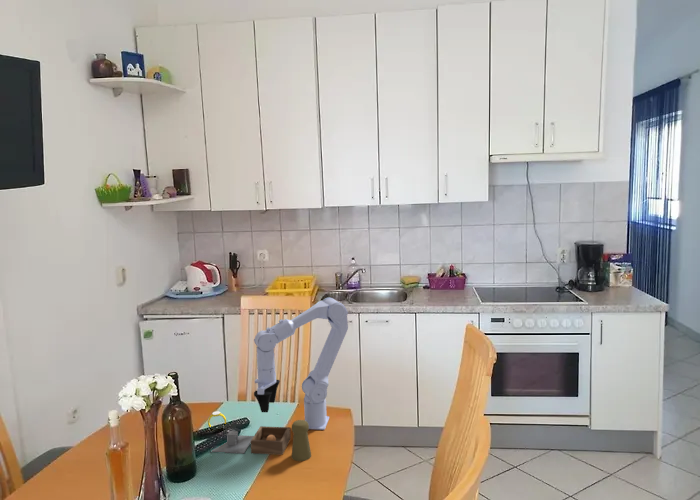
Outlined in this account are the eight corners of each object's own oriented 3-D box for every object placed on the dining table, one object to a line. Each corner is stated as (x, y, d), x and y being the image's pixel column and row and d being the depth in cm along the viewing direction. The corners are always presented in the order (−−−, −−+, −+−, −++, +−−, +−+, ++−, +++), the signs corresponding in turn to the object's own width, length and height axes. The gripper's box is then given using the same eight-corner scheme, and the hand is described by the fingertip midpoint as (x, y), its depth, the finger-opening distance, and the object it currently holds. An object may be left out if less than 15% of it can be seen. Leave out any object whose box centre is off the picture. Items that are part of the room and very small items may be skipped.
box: (261, 437, 174) (260, 426, 173) (290, 439, 172) (290, 427, 172) (251, 453, 164) (250, 441, 163) (282, 454, 162) (282, 442, 162)
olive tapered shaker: (308, 461, 158) (306, 426, 156) (288, 460, 159) (287, 425, 158) (313, 451, 164) (312, 418, 162) (294, 450, 165) (293, 416, 164)
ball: (268, 441, 170) (267, 432, 169) (277, 442, 169) (276, 433, 169) (265, 446, 167) (264, 437, 166) (274, 446, 166) (274, 437, 166)
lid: (223, 437, 176) (222, 424, 176) (254, 438, 175) (254, 425, 174) (210, 454, 165) (209, 440, 165) (243, 455, 164) (243, 441, 163)
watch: (208, 432, 179) (206, 416, 178) (209, 428, 182) (207, 412, 181) (226, 429, 180) (224, 413, 179) (227, 426, 183) (225, 409, 182)
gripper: (261, 359, 181) (263, 397, 183) (247, 375, 167) (249, 416, 169) (281, 360, 180) (282, 398, 182) (268, 375, 166) (270, 416, 168)
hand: (268, 406), depth 175 cm, fingers open, 7 cm apart
